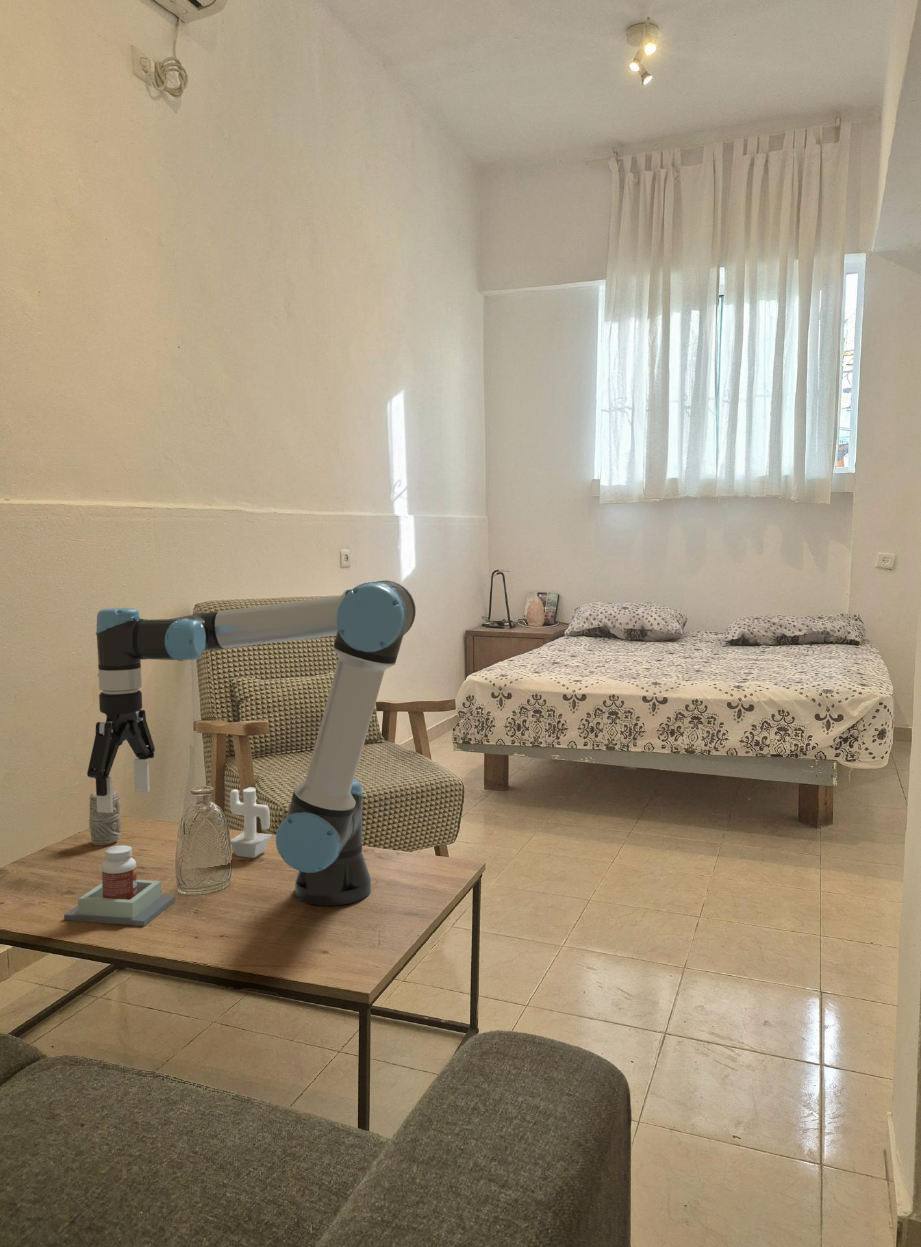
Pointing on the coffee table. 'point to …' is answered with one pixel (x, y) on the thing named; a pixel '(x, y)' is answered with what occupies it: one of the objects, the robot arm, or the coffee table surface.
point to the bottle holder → (122, 906)
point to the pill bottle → (119, 873)
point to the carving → (104, 822)
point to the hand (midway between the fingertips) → (124, 801)
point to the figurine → (250, 824)
